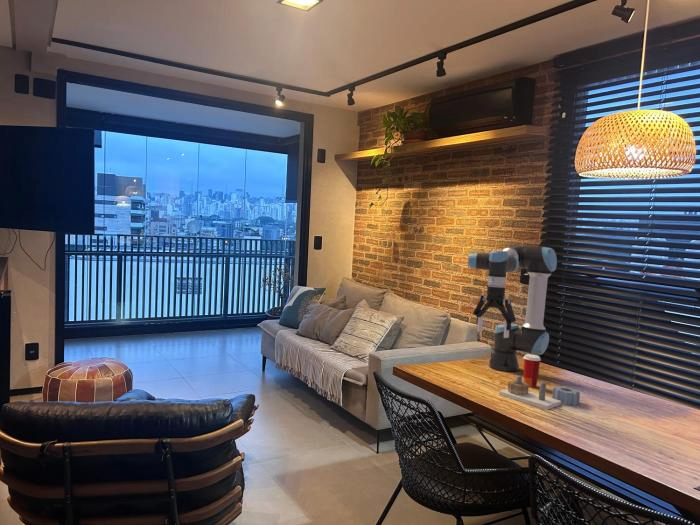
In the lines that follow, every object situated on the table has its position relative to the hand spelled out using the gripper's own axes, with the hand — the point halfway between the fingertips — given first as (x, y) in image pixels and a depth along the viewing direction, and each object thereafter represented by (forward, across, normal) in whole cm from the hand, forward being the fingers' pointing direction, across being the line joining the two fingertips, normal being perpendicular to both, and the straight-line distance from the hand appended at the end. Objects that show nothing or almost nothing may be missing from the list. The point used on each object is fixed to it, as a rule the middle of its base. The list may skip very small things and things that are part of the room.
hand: (492, 334), depth 223 cm
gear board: (+25, +16, +7) cm, 31 cm away
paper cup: (+26, +4, +27) cm, 37 cm away
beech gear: (+24, +10, +7) cm, 27 cm away
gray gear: (+25, +26, +19) cm, 41 cm away
